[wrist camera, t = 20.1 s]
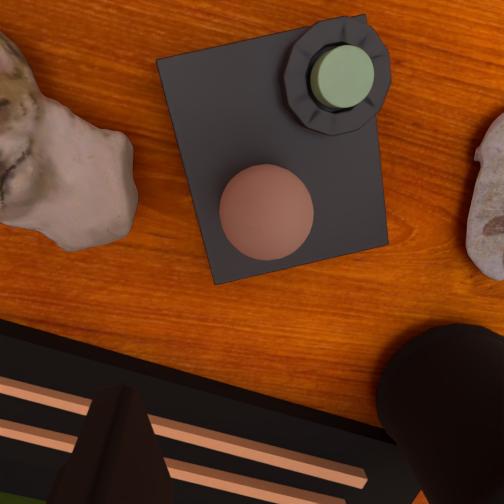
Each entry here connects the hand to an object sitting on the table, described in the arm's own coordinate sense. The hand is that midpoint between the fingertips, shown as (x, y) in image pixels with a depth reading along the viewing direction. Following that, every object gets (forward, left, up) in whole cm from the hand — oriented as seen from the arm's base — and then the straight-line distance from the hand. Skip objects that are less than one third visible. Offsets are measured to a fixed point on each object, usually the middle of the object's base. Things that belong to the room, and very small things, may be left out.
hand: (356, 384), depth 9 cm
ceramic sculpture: (-6, -13, -20) cm, 25 cm away
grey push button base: (-2, +2, -20) cm, 20 cm away
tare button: (-6, +6, -17) cm, 19 cm away
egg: (0, 0, -19) cm, 19 cm away
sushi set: (+31, -21, -20) cm, 42 cm away
